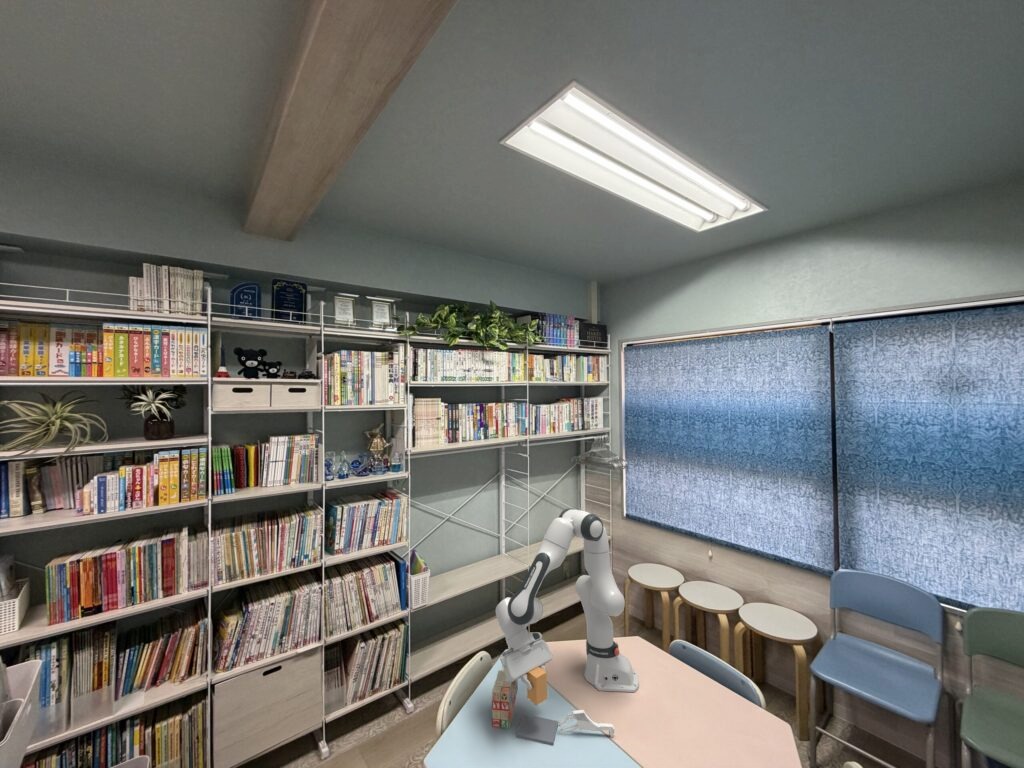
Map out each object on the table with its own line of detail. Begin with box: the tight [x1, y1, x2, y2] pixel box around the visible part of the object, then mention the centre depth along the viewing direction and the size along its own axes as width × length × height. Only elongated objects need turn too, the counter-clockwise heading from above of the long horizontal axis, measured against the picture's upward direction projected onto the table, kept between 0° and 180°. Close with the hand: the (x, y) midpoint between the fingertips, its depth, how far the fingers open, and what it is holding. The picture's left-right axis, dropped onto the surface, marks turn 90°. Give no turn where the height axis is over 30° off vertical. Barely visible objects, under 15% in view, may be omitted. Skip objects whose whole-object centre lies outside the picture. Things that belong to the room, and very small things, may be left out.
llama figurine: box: [558, 709, 615, 738], centre depth 138 cm, size 2×11×18 cm
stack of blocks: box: [491, 665, 519, 730], centre depth 151 cm, size 21×6×12 cm, turn 171°
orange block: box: [526, 667, 548, 706], centre depth 141 cm, size 5×5×9 cm
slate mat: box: [515, 713, 559, 746], centre depth 139 cm, size 13×10×1 cm
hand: (538, 685), depth 140 cm, fingers closed on orange block, 5 cm apart
